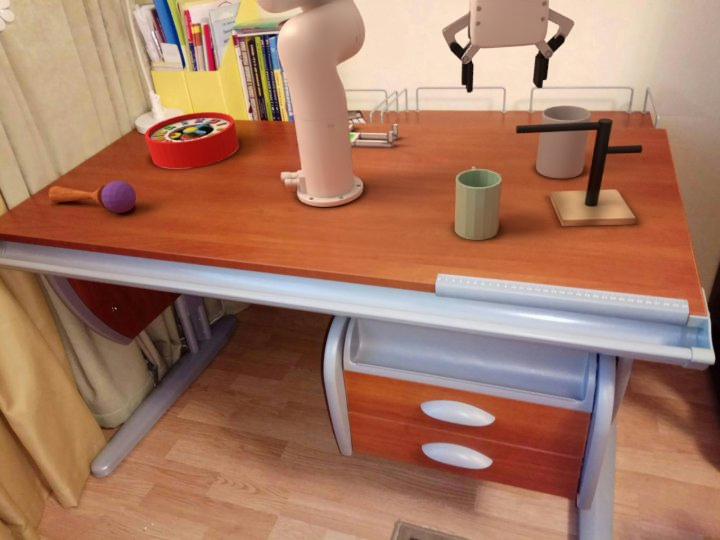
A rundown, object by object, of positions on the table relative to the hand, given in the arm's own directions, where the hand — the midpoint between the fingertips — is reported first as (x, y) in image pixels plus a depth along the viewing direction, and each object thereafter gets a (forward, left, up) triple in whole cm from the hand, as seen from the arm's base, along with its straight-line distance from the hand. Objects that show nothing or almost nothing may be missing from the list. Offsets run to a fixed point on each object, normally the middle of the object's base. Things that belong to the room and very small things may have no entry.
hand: (503, 87), depth 78 cm
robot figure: (-28, +38, -22) cm, 53 cm away
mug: (+15, +21, -22) cm, 34 cm away
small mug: (-3, 0, -22) cm, 22 cm away
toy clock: (-64, +37, -22) cm, 77 cm away
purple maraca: (-75, +10, -22) cm, 79 cm away
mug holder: (+12, +3, -22) cm, 25 cm away
